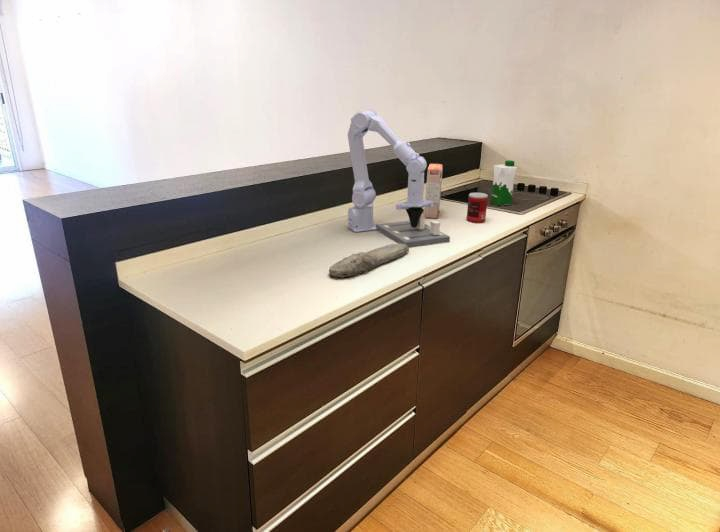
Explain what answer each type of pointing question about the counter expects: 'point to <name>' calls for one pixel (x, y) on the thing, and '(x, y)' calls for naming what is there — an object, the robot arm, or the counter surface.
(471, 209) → the canned food
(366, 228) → the robot arm
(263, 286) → the counter surface
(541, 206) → the counter surface
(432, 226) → the block
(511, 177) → the milk carton
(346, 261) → the elongated rock
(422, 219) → the block
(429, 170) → the cracker box
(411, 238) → the breaker panel
